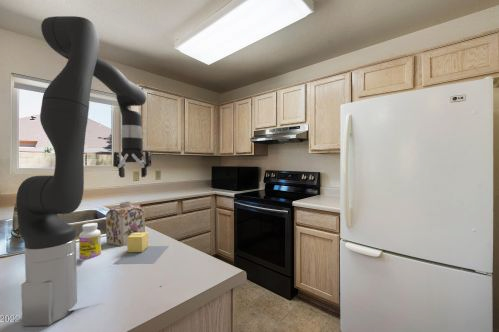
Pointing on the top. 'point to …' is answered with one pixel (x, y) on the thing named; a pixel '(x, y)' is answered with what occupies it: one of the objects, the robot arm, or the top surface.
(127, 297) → the top surface
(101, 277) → the top surface
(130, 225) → the decorative jar
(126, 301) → the top surface
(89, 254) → the supplement bottle
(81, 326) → the top surface
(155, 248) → the plate
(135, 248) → the yellow cube
